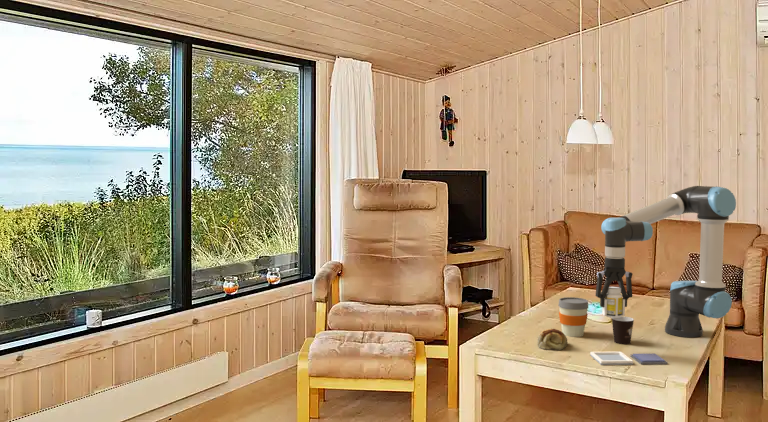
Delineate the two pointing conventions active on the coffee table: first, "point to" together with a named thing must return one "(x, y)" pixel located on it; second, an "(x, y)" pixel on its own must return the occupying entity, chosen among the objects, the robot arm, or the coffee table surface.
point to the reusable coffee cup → (573, 315)
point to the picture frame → (611, 358)
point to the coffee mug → (622, 329)
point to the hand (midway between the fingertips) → (613, 314)
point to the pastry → (552, 340)
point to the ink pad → (648, 359)
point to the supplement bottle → (614, 302)
